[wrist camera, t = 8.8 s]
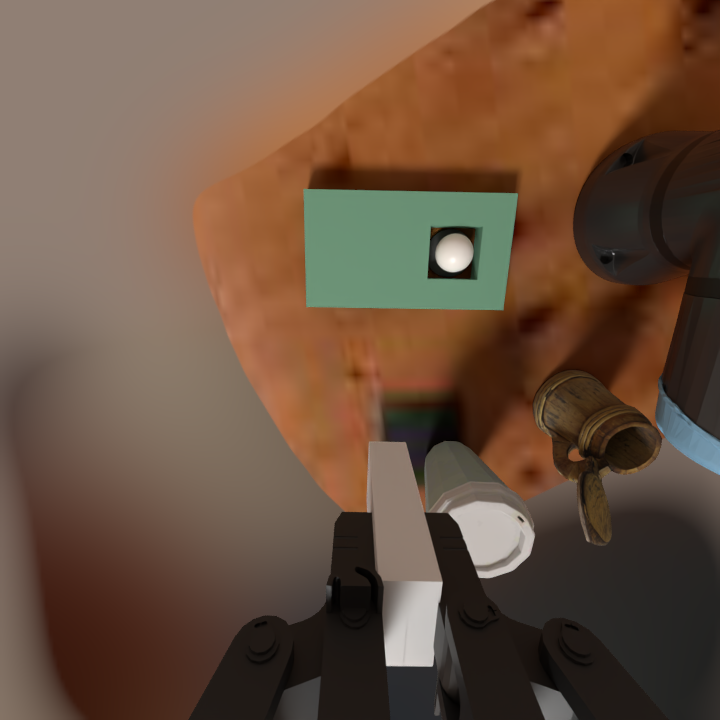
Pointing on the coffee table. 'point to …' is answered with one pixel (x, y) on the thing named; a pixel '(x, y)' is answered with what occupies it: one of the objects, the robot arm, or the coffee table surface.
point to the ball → (454, 252)
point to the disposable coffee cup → (478, 508)
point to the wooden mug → (593, 441)
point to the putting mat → (404, 248)
